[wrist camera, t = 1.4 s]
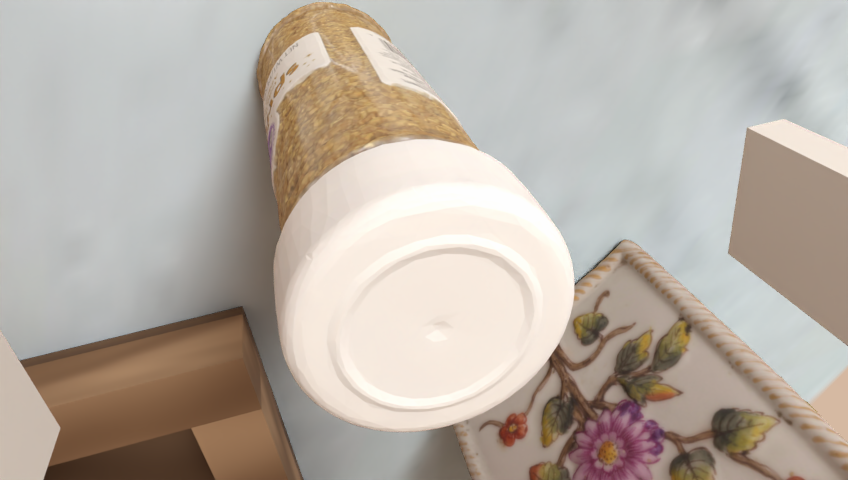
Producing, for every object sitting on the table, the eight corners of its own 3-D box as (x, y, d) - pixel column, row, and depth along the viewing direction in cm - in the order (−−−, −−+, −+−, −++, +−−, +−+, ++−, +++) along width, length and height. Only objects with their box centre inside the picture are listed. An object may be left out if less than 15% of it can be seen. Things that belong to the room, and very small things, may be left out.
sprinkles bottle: (232, 26, 19) (222, 263, 8) (376, -21, 19) (566, 141, 8) (288, 159, 21) (341, 483, 10) (414, 115, 22) (599, 383, 11)
